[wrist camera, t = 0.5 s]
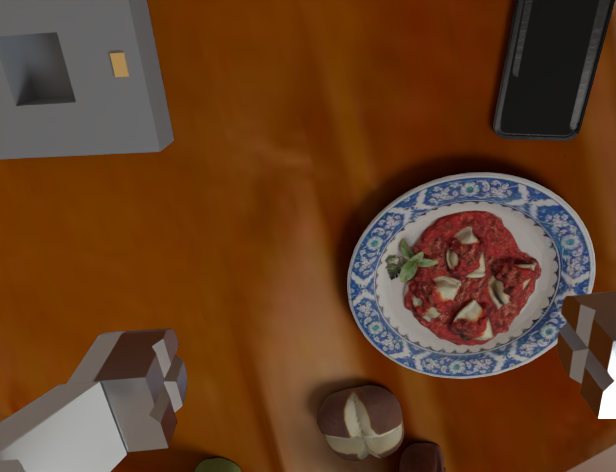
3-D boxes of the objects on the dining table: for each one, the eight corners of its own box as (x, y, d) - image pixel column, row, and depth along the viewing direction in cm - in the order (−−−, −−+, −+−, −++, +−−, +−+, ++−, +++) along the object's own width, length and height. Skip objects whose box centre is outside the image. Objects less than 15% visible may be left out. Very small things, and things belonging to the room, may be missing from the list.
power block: (-68, -20, 45) (-106, -21, 41) (139, -38, 43) (118, -42, 39) (-7, 149, 52) (-35, 161, 48) (174, 140, 50) (159, 152, 46)
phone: (626, -42, 39) (577, 141, 46) (619, -41, 40) (572, 138, 47) (525, -43, 40) (491, 138, 46) (521, -42, 41) (488, 135, 47)
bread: (399, 378, 62) (402, 408, 57) (404, 442, 66) (408, 474, 62) (312, 382, 63) (309, 412, 59) (324, 445, 68) (322, 476, 64)
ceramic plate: (640, 256, 51) (656, 270, 49) (470, 398, 62) (475, 416, 59) (453, 114, 47) (459, 121, 44) (303, 294, 57) (301, 308, 54)
